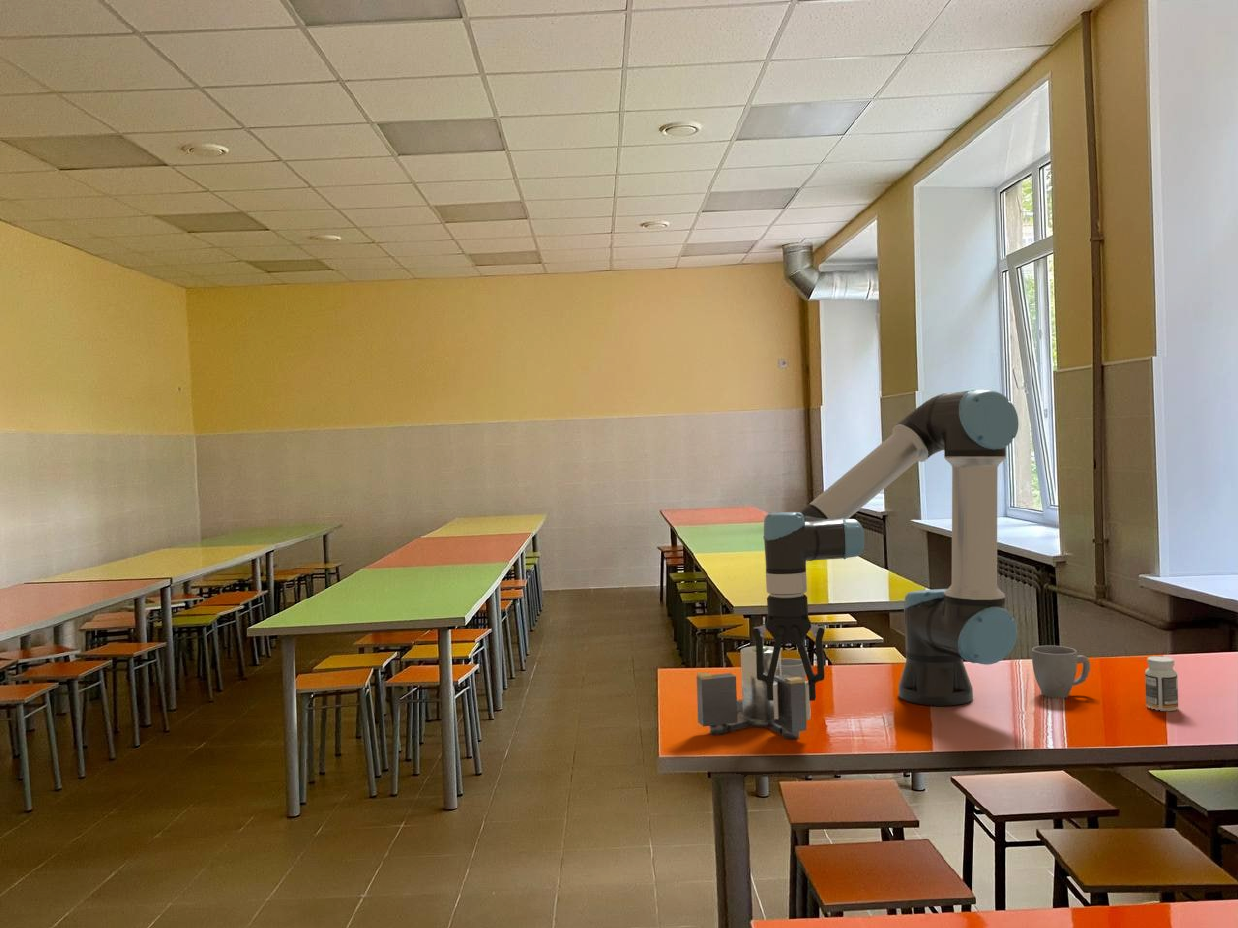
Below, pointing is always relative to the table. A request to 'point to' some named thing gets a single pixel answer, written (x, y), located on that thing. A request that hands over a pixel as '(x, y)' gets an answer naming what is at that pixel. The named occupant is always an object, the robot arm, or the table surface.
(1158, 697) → the pill bottle
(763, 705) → the stand
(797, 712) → the grey rectangular block
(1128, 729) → the table surface
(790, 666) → the cup
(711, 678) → the tan-tipped grey block
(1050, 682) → the mug
